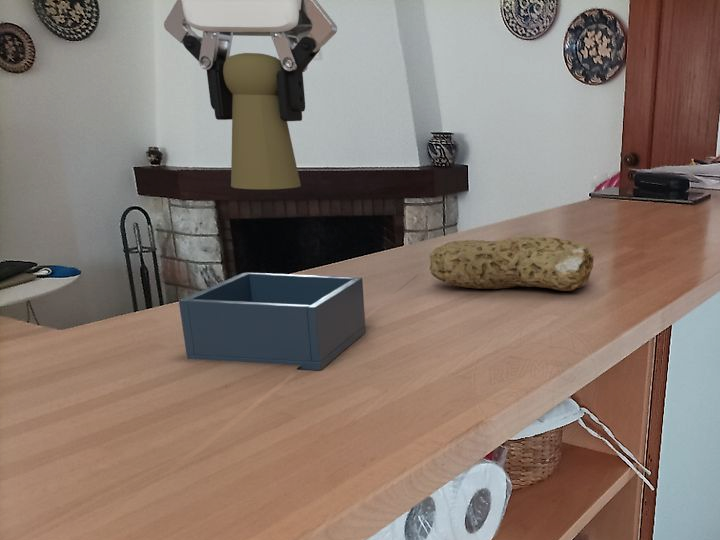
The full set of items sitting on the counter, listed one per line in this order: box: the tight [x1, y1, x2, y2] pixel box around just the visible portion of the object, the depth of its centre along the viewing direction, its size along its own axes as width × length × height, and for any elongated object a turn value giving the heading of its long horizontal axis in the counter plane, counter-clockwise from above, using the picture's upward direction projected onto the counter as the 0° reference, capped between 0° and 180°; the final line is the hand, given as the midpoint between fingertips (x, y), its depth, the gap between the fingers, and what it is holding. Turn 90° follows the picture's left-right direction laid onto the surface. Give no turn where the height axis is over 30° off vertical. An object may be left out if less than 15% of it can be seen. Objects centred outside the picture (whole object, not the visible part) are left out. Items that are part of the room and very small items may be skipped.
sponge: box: [428, 236, 595, 292], centre depth 101 cm, size 13×8×20 cm
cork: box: [223, 52, 302, 190], centre depth 69 cm, size 6×6×11 cm
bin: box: [178, 271, 366, 371], centre depth 75 cm, size 13×13×6 cm
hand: (259, 117), depth 69 cm, fingers closed on cork, 5 cm apart
